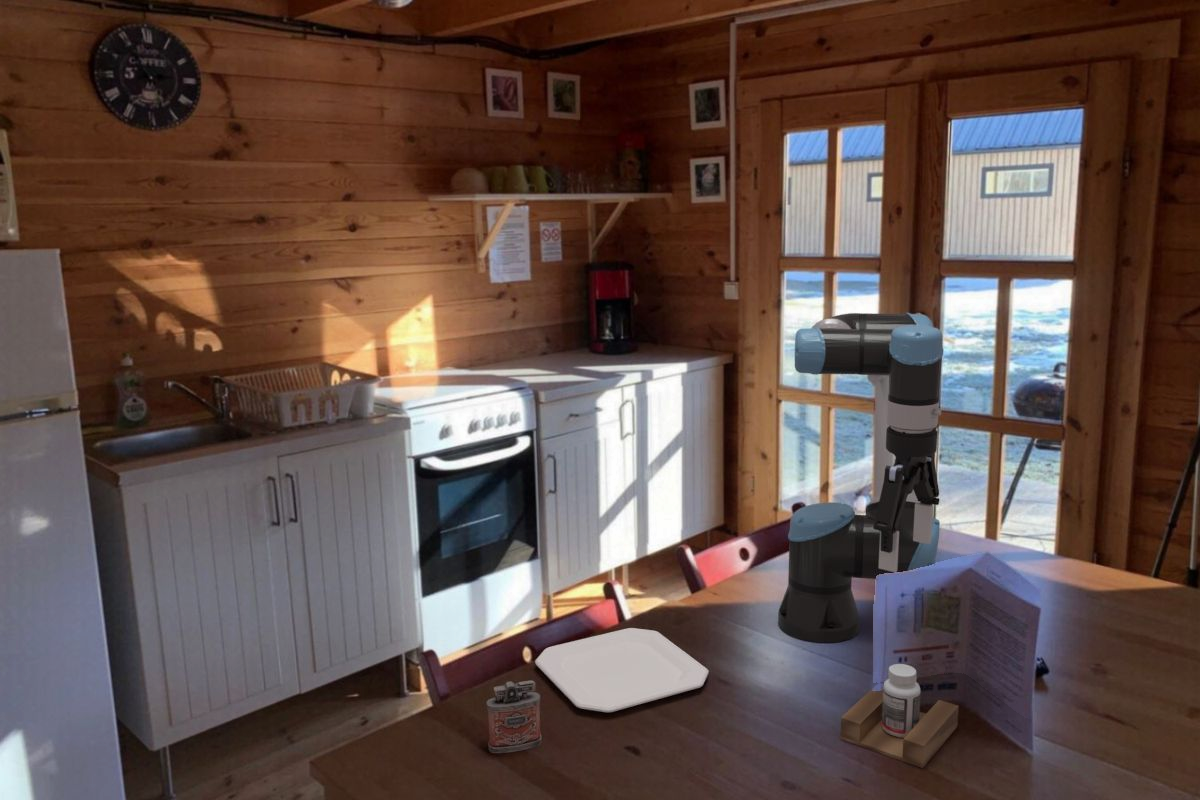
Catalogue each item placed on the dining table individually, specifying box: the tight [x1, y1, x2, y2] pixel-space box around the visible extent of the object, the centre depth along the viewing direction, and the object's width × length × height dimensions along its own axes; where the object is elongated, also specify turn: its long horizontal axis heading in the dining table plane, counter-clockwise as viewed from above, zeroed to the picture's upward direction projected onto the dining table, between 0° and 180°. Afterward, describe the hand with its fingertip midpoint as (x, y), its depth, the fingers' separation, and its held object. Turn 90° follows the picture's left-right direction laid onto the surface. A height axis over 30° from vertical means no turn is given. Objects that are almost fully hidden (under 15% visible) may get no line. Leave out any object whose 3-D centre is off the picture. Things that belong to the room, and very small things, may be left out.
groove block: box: [839, 688, 960, 769], centre depth 146 cm, size 13×14×4 cm
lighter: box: [486, 679, 543, 754], centre depth 144 cm, size 8×3×10 cm, turn 106°
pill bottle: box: [882, 663, 922, 738], centre depth 145 cm, size 5×5×10 cm
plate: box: [534, 627, 710, 713], centre depth 166 cm, size 25×25×2 cm
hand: (905, 555), depth 154 cm, fingers open, 13 cm apart
